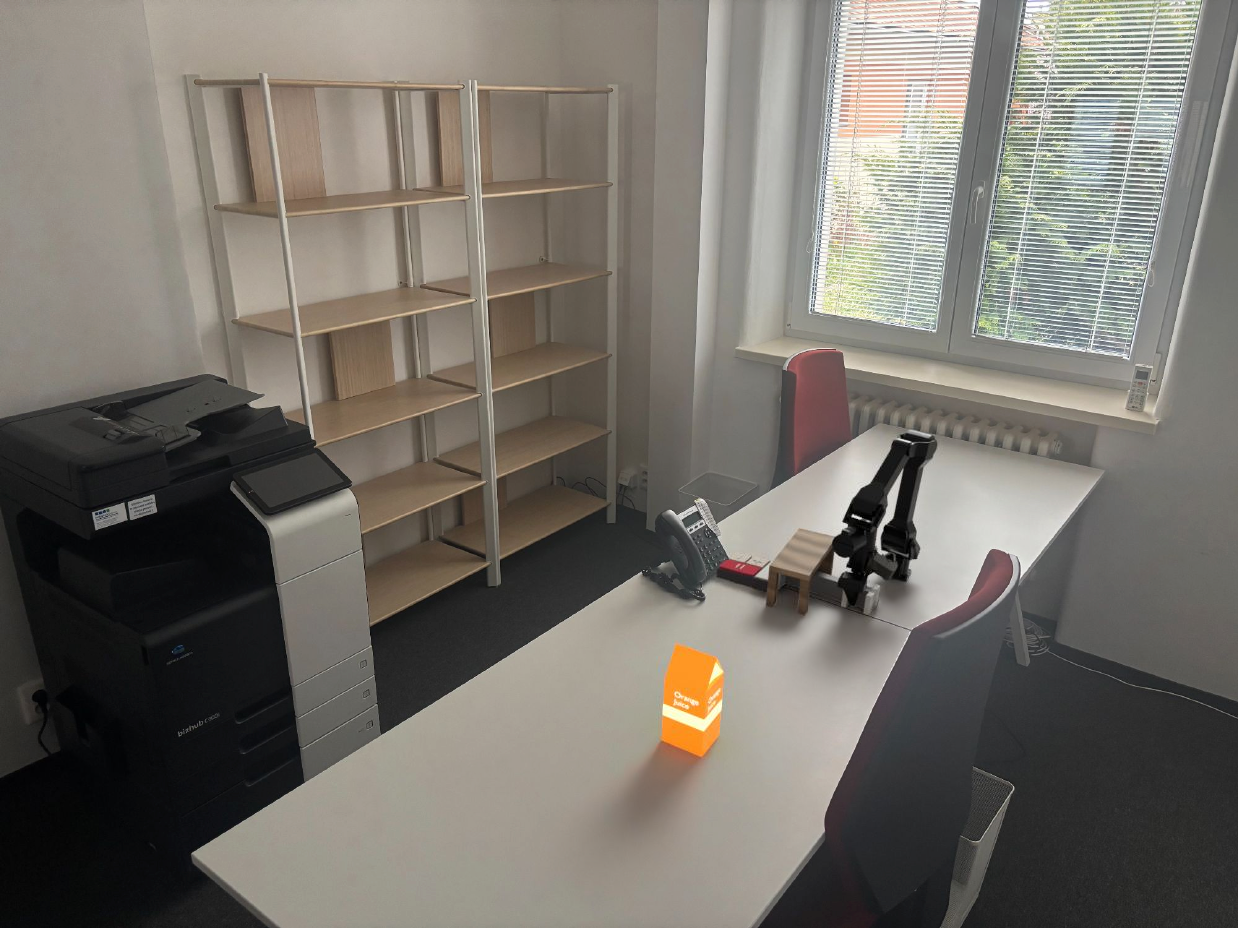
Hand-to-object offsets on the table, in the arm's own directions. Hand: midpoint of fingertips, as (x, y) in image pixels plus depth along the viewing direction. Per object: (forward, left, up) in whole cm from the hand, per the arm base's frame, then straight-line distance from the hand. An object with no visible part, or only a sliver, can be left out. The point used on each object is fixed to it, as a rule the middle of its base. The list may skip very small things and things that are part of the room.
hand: (855, 599), depth 217 cm
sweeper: (-1, -8, -1) cm, 8 cm away
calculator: (0, -27, -2) cm, 27 cm away
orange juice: (+67, -15, -1) cm, 69 cm away
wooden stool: (0, -14, -1) cm, 14 cm away
